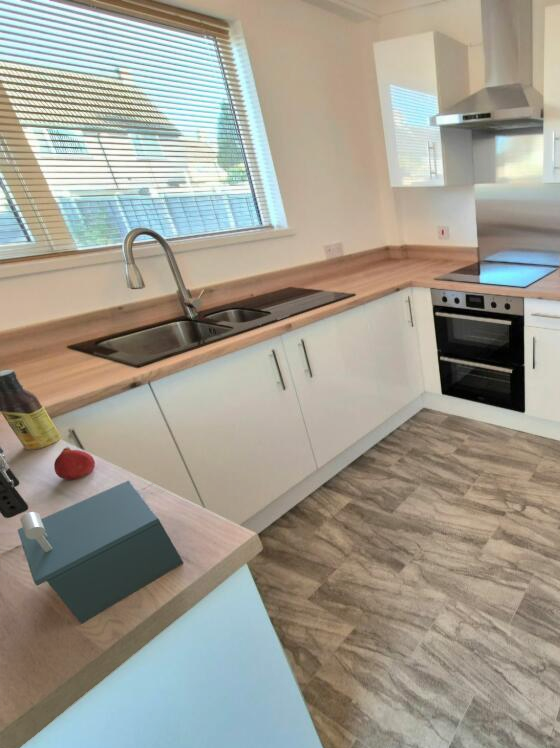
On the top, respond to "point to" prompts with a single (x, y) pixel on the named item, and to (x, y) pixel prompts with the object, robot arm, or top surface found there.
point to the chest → (116, 572)
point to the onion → (73, 464)
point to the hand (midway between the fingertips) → (13, 500)
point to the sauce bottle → (25, 414)
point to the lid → (83, 530)
